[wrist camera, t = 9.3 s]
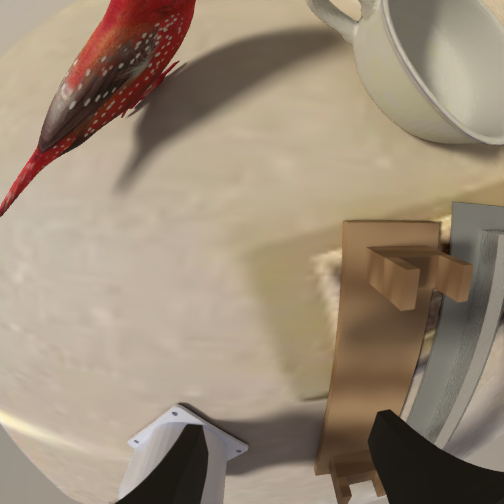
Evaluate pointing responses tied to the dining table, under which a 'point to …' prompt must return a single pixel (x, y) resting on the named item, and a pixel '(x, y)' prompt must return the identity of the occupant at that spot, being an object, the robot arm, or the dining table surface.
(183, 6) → the decorative bird figurine
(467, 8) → the teacup
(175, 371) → the dining table surface
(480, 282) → the steel bar
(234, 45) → the dining table surface
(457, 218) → the mat
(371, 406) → the hook stands
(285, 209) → the dining table surface
